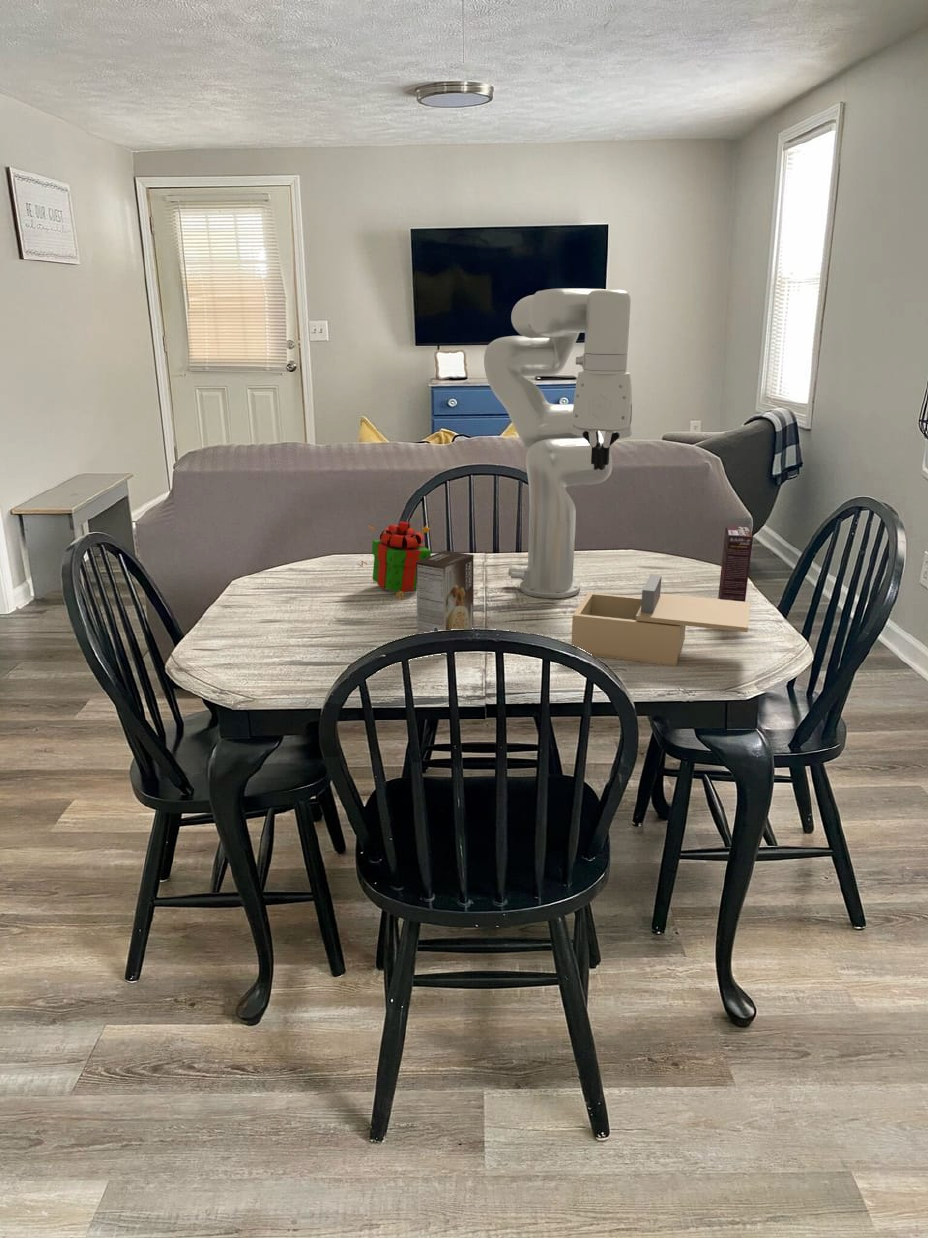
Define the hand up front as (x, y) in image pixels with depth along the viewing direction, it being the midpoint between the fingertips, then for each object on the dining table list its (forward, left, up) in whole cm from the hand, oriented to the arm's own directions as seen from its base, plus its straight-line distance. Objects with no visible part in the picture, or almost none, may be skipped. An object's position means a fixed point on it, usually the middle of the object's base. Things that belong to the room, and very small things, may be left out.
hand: (599, 468), depth 169 cm
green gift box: (-44, +9, -29) cm, 54 cm away
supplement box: (+25, +16, -29) cm, 42 cm away
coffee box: (-22, -22, -29) cm, 43 cm away
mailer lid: (+20, -12, -22) cm, 32 cm away
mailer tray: (+9, -12, -29) cm, 33 cm away
